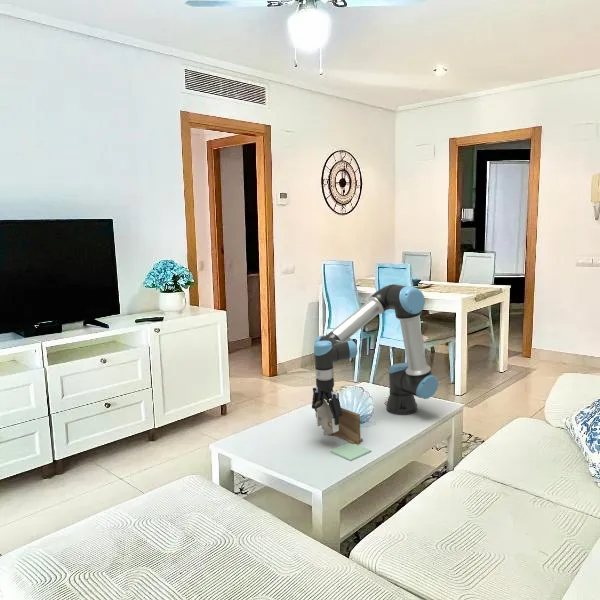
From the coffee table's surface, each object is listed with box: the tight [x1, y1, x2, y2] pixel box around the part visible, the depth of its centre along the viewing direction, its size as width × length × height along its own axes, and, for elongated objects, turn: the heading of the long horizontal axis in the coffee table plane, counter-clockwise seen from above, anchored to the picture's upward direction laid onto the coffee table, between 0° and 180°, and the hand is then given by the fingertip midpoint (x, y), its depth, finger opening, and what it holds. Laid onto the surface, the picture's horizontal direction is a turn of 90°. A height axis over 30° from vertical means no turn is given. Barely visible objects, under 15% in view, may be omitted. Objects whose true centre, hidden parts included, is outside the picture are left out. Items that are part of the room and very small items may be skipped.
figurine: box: [314, 399, 333, 436], centre depth 229 cm, size 9×10×15 cm
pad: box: [329, 442, 372, 462], centre depth 223 cm, size 12×12×1 cm
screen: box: [328, 407, 364, 445], centre depth 236 cm, size 6×18×13 cm, turn 40°
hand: (327, 428), depth 230 cm, fingers closed on figurine, 9 cm apart
